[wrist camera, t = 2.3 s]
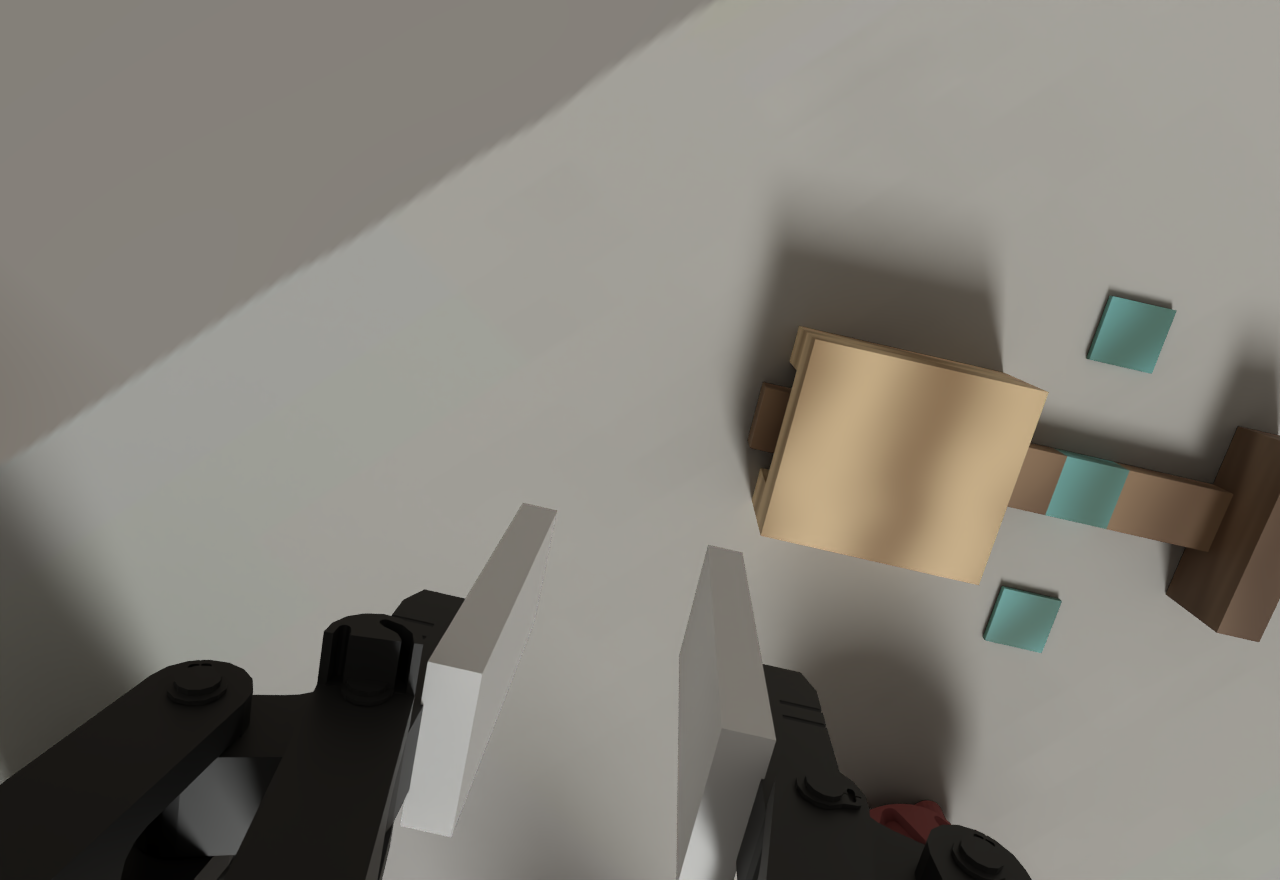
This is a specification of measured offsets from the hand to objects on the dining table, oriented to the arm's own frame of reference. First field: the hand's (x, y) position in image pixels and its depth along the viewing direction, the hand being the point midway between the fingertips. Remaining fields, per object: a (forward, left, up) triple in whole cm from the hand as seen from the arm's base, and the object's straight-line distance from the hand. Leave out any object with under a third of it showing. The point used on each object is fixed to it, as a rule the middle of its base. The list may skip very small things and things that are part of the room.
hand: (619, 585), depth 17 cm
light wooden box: (+11, 0, -23) cm, 25 cm away
